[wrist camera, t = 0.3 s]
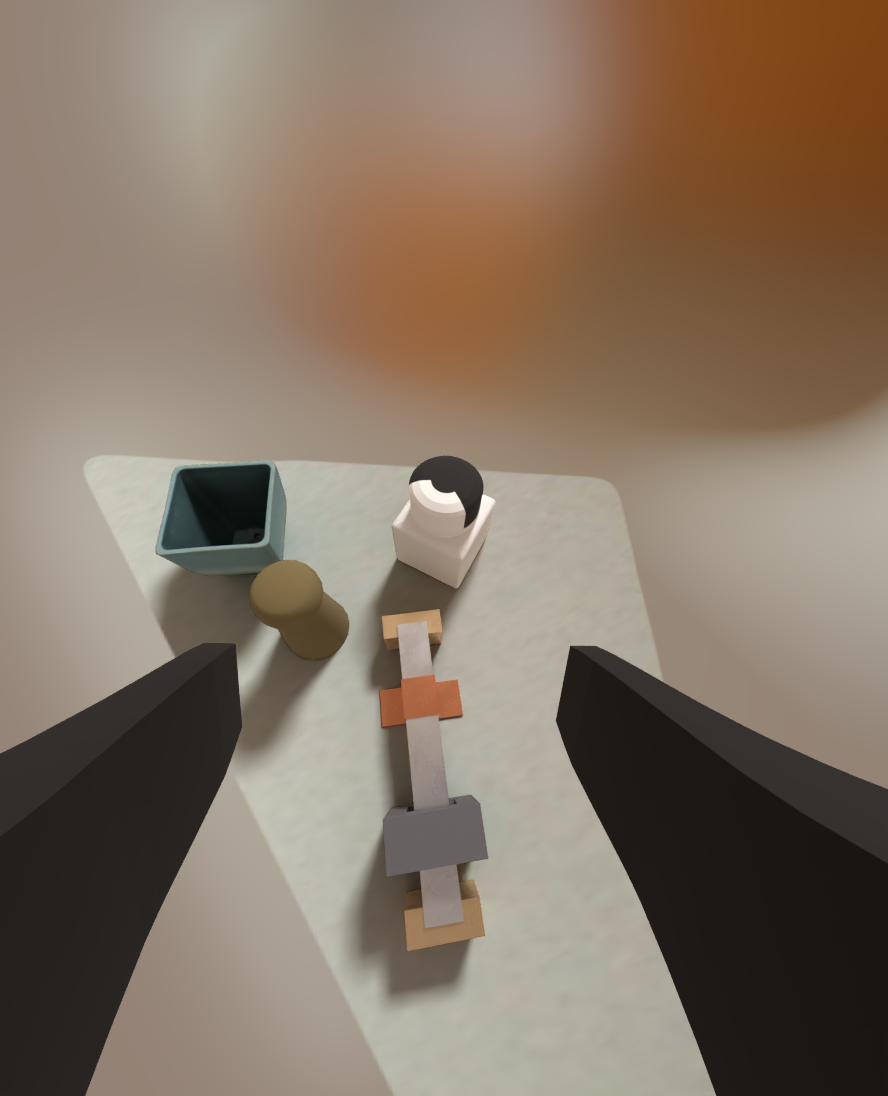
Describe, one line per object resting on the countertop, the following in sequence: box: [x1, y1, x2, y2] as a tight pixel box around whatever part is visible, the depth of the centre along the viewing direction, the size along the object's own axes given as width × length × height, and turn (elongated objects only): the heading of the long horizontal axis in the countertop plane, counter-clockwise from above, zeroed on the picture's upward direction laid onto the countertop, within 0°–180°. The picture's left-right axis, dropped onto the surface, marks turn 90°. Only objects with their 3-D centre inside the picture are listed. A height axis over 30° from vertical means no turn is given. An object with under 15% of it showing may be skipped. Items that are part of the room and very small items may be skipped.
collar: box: [383, 795, 488, 877], centre depth 29 cm, size 3×6×7 cm, turn 98°
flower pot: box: [156, 460, 286, 576], centre depth 39 cm, size 9×9×9 cm
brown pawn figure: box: [249, 560, 349, 660], centre depth 34 cm, size 6×6×11 cm
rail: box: [380, 609, 485, 951], centre depth 33 cm, size 22×7×4 cm, turn 8°
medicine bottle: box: [392, 456, 495, 588], centre depth 38 cm, size 7×7×12 cm
